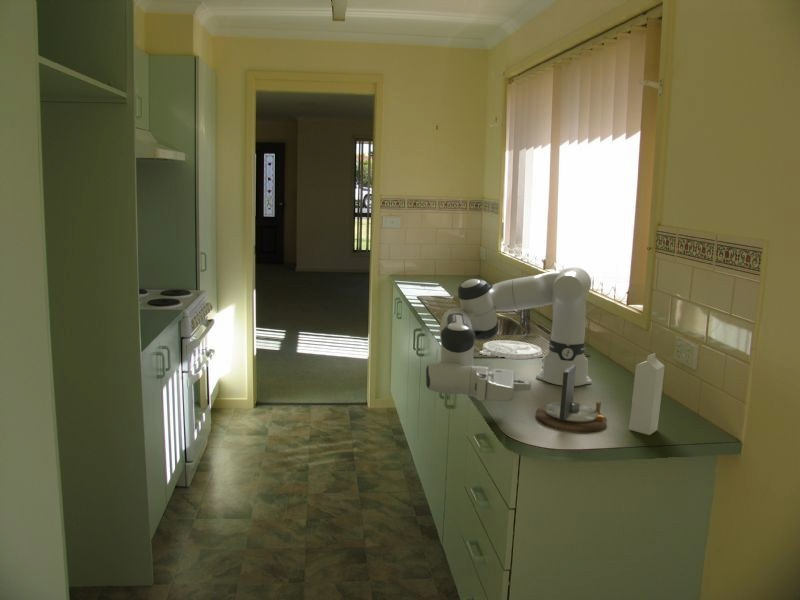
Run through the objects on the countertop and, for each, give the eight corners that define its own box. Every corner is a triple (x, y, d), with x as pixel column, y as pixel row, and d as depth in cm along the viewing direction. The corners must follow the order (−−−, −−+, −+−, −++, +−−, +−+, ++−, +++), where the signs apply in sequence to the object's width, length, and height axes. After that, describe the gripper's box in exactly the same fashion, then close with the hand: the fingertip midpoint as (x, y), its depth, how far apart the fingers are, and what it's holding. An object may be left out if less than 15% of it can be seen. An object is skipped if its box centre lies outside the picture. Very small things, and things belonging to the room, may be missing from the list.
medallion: (554, 357, 284) (554, 351, 284) (499, 363, 271) (499, 357, 271) (516, 343, 304) (516, 338, 304) (463, 348, 291) (463, 343, 291)
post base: (535, 406, 221) (536, 390, 220) (602, 412, 218) (604, 396, 217) (535, 428, 201) (537, 410, 201) (609, 435, 198) (611, 418, 197)
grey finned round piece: (552, 402, 219) (557, 354, 216) (608, 413, 212) (613, 363, 209) (534, 419, 203) (539, 367, 200) (594, 431, 195) (599, 377, 193)
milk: (657, 430, 205) (666, 355, 201) (649, 435, 200) (658, 358, 196) (636, 424, 208) (645, 350, 205) (628, 429, 204) (637, 353, 200)
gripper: (483, 382, 216) (529, 386, 214) (478, 402, 196) (529, 407, 194) (484, 362, 215) (531, 366, 213) (479, 380, 195) (531, 385, 193)
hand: (530, 386), depth 203 cm, fingers closed
